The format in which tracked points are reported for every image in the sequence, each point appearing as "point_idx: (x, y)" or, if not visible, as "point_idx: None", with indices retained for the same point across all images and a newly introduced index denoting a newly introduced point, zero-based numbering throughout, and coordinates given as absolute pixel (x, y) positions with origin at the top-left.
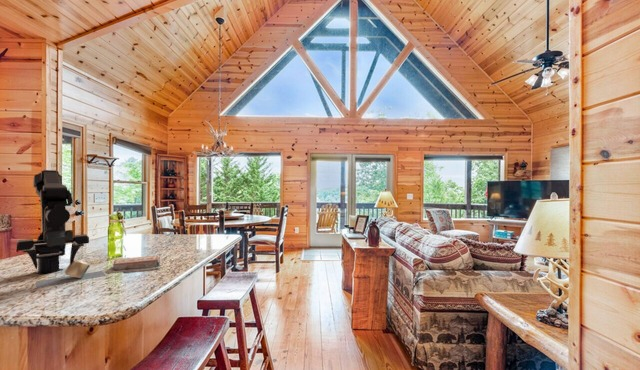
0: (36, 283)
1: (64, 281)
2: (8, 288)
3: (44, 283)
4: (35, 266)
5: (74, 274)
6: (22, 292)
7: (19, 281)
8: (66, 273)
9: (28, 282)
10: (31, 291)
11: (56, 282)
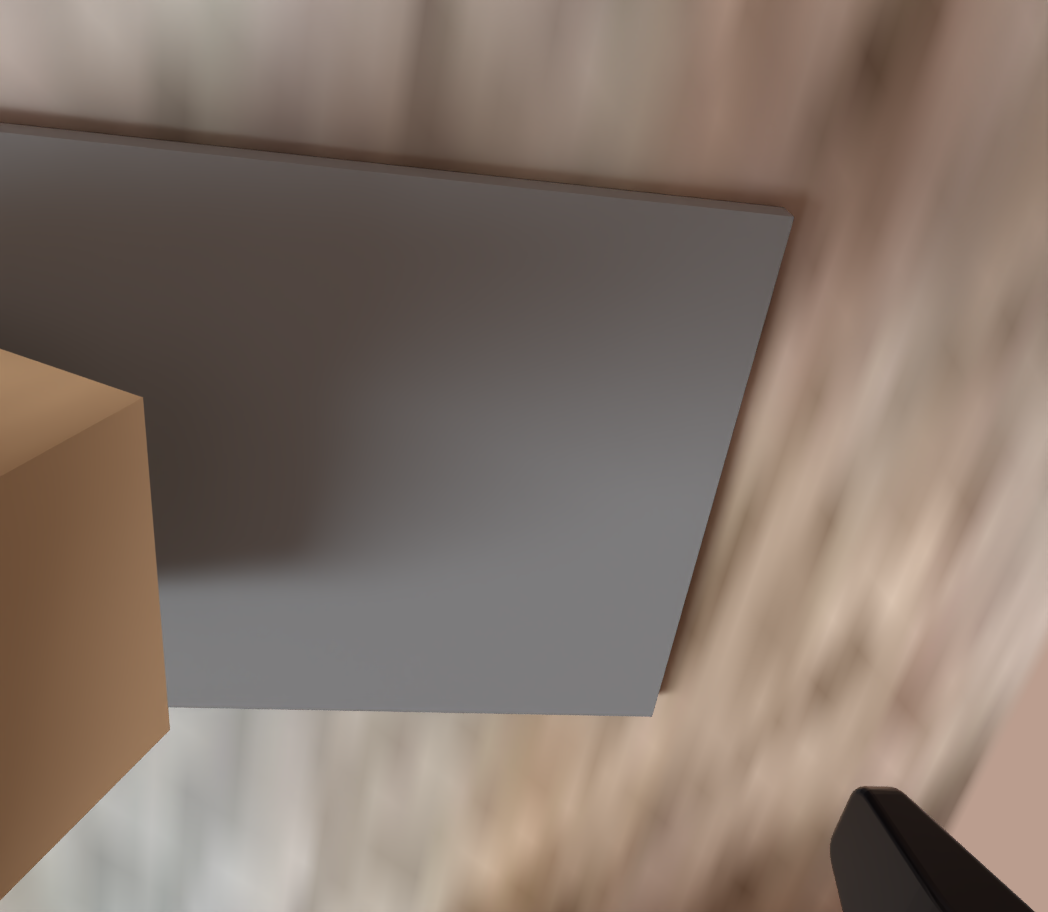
0: (681, 588)
1: (221, 324)
2: (1011, 645)
3: (585, 478)
4: (950, 846)
5: None
6: (1037, 176)
7: (768, 894)
8: (125, 477)
9: (710, 780)
10: (915, 98)
11: (383, 376)
